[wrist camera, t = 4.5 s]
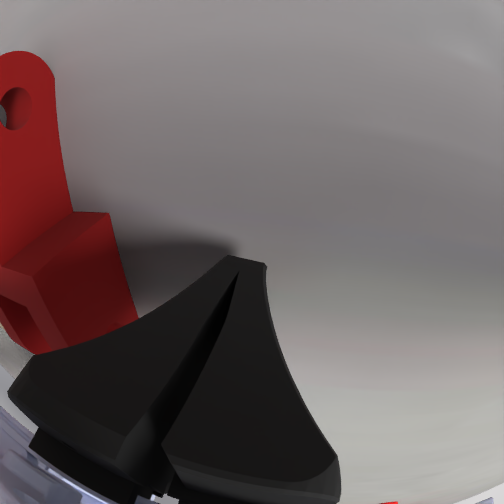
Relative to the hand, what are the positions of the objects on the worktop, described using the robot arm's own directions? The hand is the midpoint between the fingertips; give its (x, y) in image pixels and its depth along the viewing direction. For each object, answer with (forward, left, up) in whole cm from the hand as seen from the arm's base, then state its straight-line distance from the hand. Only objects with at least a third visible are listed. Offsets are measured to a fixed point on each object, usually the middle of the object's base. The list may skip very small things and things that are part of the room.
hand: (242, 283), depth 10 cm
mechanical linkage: (0, +10, -2) cm, 10 cm away
